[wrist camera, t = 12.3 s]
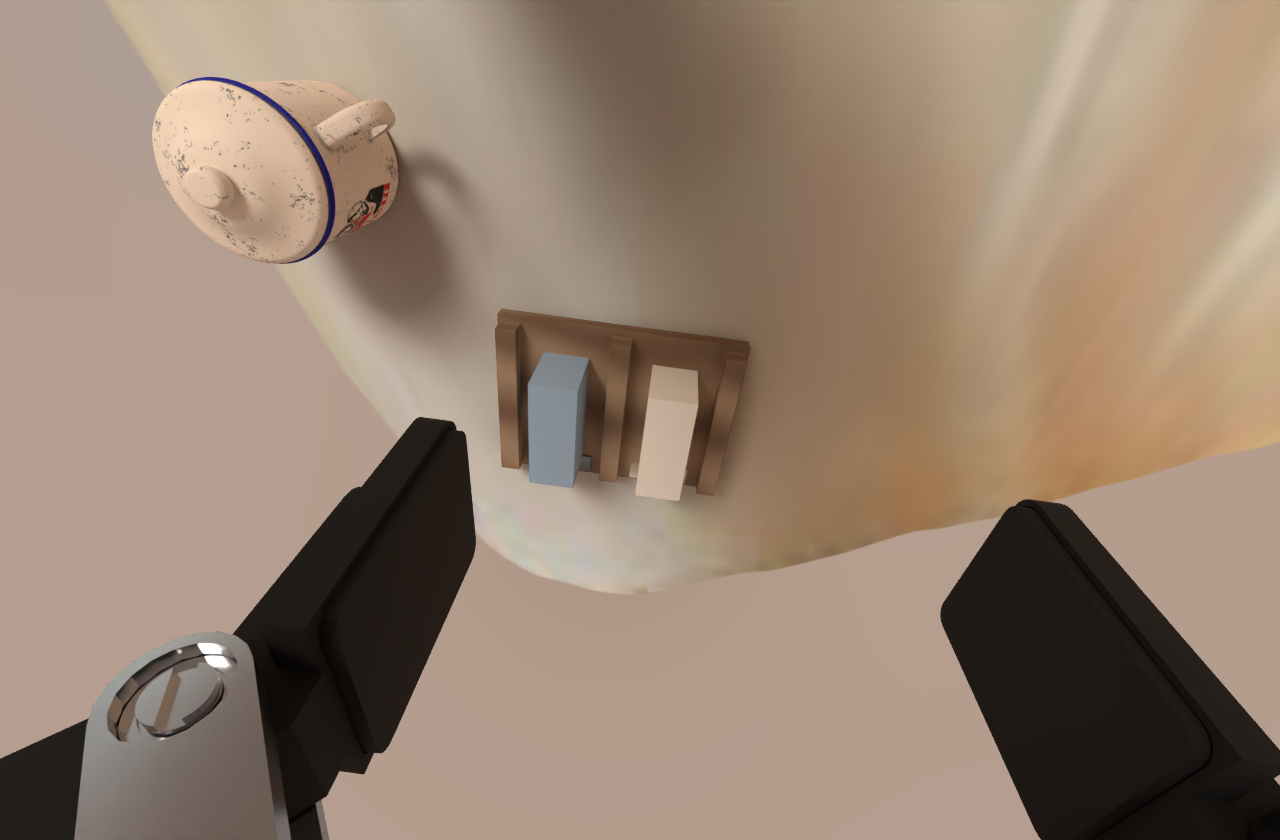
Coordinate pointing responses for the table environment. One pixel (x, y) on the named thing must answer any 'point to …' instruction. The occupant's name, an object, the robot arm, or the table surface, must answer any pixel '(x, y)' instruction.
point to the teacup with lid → (275, 163)
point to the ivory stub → (667, 432)
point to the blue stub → (557, 418)
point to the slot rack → (618, 389)
